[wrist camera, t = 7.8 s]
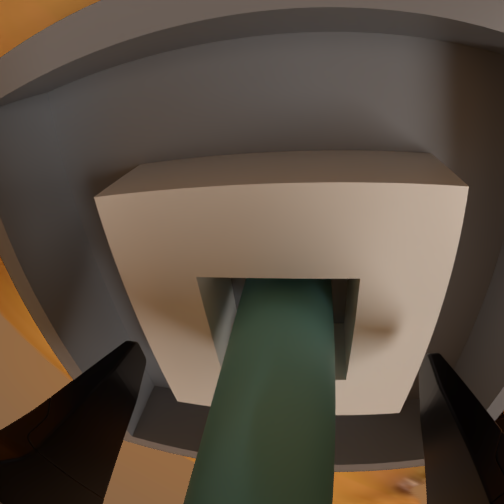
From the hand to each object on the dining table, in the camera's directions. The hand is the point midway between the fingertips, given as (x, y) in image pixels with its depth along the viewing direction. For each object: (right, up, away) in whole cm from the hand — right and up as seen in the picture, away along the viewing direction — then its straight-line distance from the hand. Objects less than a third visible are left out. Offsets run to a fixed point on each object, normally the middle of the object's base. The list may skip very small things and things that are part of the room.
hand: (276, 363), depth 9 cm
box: (+1, +3, +4) cm, 5 cm away
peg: (+1, +2, +3) cm, 4 cm away
